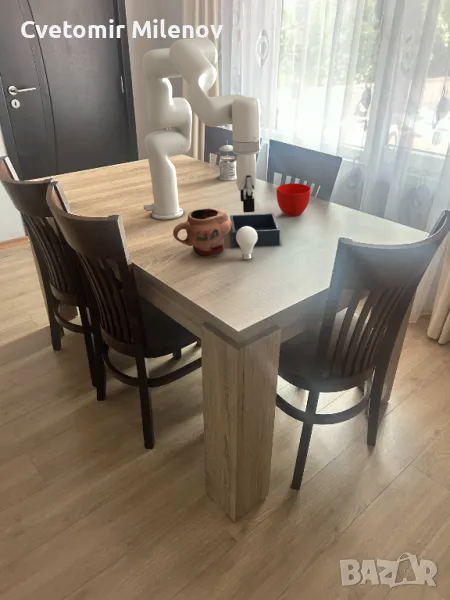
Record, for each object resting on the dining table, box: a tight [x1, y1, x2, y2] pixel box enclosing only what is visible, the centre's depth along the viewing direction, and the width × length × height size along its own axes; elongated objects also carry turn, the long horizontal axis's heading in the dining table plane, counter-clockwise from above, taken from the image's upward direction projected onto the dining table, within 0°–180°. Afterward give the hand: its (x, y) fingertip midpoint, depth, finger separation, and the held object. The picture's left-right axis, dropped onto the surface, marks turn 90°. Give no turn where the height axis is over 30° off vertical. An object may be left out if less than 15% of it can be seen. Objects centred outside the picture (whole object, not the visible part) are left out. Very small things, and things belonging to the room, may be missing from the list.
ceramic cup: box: [276, 182, 312, 217], centre depth 173 cm, size 13×17×10 cm
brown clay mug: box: [172, 207, 232, 258], centre depth 142 cm, size 20×12×14 cm, turn 122°
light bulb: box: [236, 226, 258, 261], centre depth 138 cm, size 7×7×11 cm
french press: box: [213, 124, 237, 181], centre depth 212 cm, size 10×12×25 cm
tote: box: [229, 212, 281, 249], centre depth 154 cm, size 16×16×6 cm
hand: (247, 206), depth 131 cm, fingers open, 9 cm apart
